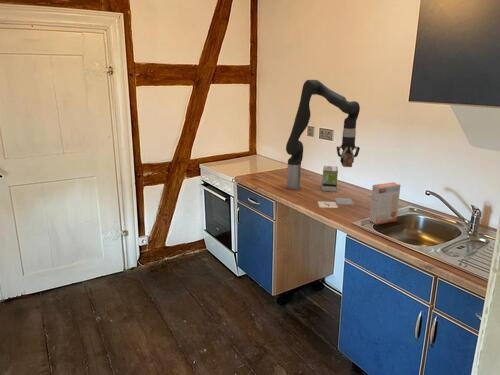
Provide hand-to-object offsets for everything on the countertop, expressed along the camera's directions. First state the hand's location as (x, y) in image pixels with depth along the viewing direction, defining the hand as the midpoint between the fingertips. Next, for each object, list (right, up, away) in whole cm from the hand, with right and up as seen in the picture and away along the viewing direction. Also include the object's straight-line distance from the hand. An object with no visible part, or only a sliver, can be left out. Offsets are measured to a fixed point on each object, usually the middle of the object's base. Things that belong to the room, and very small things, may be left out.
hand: (346, 163), depth 229 cm
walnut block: (0, -1, 0) cm, 1 cm away
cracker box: (+13, -33, -25) cm, 44 cm away
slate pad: (0, -24, +7) cm, 25 cm away
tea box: (-3, -15, +36) cm, 39 cm away
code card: (-11, -25, +1) cm, 28 cm away
